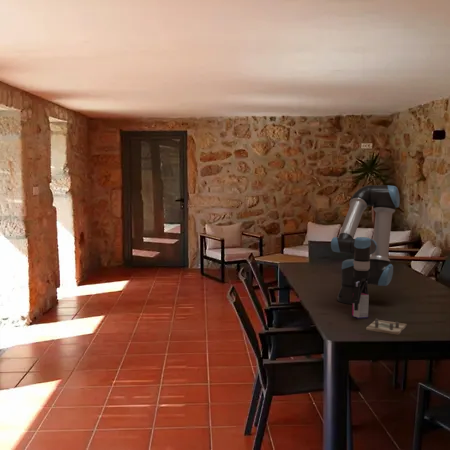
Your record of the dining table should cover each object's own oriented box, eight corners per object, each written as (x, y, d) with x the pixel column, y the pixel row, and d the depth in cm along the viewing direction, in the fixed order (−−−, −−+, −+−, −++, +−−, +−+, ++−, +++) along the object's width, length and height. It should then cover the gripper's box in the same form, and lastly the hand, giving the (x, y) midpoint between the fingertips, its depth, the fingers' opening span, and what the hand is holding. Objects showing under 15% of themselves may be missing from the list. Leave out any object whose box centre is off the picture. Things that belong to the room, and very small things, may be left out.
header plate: (376, 321, 254) (376, 314, 254) (406, 326, 247) (406, 318, 246) (366, 329, 240) (366, 322, 240) (398, 334, 233) (398, 326, 233)
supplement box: (368, 318, 260) (369, 294, 259) (357, 319, 258) (358, 295, 257) (362, 315, 266) (362, 292, 264) (351, 315, 264) (352, 293, 263)
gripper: (361, 265, 271) (359, 308, 274) (346, 272, 252) (344, 318, 254) (375, 266, 268) (374, 310, 270) (362, 273, 248) (360, 320, 250)
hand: (360, 314), depth 262 cm, fingers open, 10 cm apart
